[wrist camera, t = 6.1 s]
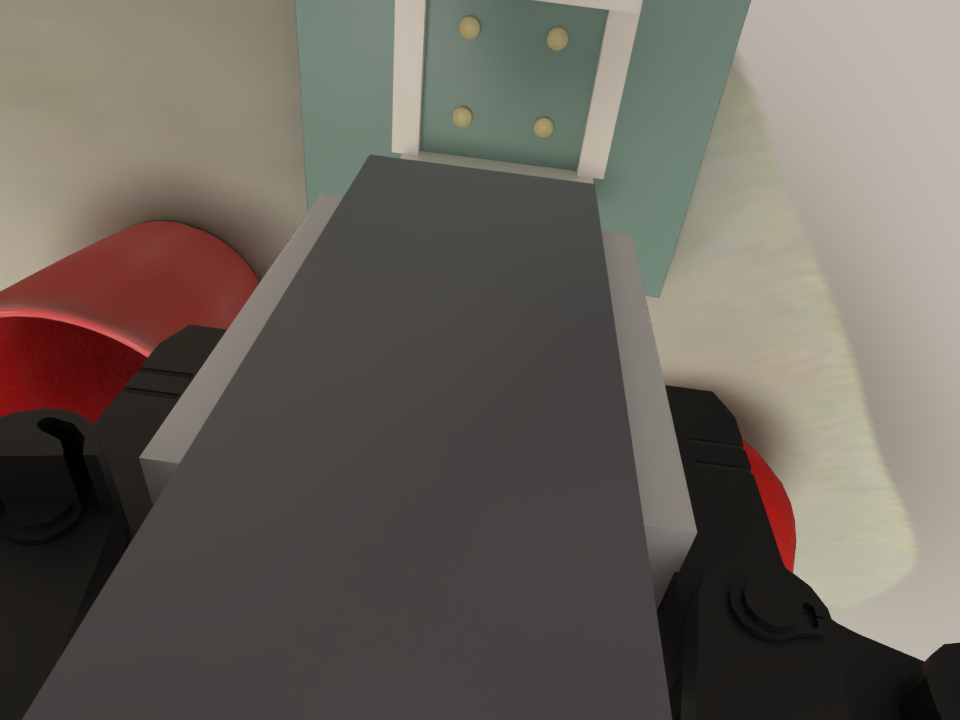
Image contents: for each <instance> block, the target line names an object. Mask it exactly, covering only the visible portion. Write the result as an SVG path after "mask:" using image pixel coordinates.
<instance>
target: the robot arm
mask: <svg viewBox="0 0 960 720" xmlns="http://www.w3.org/2000/svg"><path fill="white" fill-rule="evenodd" d="M342 198H343V196H335V195H328V194H321V195H320V196H319V198H318V199H317V200H316V202H315V203H314V205H313V206H312V208H311V209H310V211H309V212H308V213H307V215H306V216H305V218H304V219H303V221H302V222H301V224H300V225H299V227H298V228H297V229H296V231H295V232H294V234H293V235H292V237H291V238H290V240H289V241H288V242H287V244H286V245H285V247H284V248H283V250H282V251H281V253H280V254H279V256H278V257H277V258H276V260H275V261H274V263H273V264H272V266H271V267H270V269H269V270H268V271H267V273H266V274H265V276H264V277H263V279H262V280H261V282H260V283H259V285H258V286H257V287H256V289H255V290H254V292H253V293H252V295H251V296H250V298H249V299H248V300H247V302H246V303H245V305H244V306H243V308H242V309H241V311H240V312H239V314H238V315H237V316H236V318H235V319H234V321H233V322H232V324H231V325H230V327H229V328H228V329H220V328H213V327H205V326H197V325H189V326H187V327H185V328H184V329H182V330H180V331H179V332H177V333H175V334H174V335H172V336H170V337H169V338H167V339H165V340H164V341H162V342H160V343H159V344H158V346H157V347H156V348H155V349H154V350H153V352H152V353H151V354H150V355H149V357H148V358H147V359H146V360H145V362H144V363H143V364H142V365H141V366H140V371H139V372H136V373H135V374H134V375H133V376H132V378H131V379H130V380H129V381H128V382H127V384H126V385H125V386H124V391H123V392H119V394H118V395H117V396H116V397H115V398H114V400H113V401H112V402H111V403H110V405H109V406H108V407H107V408H106V410H105V411H104V412H103V413H102V414H101V416H100V417H99V418H98V419H97V421H96V422H95V423H94V424H93V423H92V422H91V421H90V420H88V419H86V418H84V417H82V416H80V415H78V414H77V413H75V412H72V411H64V410H57V409H49V408H45V409H37V410H28V411H19V412H15V413H12V414H9V415H6V416H3V417H0V720H22V719H23V717H24V715H25V714H26V712H27V711H28V709H29V707H30V706H31V704H32V702H33V701H34V699H35V698H36V696H37V694H38V693H39V691H40V689H41V688H42V686H43V684H44V683H45V681H46V680H47V678H48V676H49V675H50V673H51V671H52V670H53V668H54V667H55V665H56V663H57V662H58V660H59V658H60V657H61V655H62V654H63V652H64V650H65V649H66V647H67V645H68V644H69V642H70V641H71V639H72V637H73V636H74V634H75V632H76V631H77V629H78V628H79V626H80V624H81V623H82V621H83V619H84V618H85V616H86V615H87V613H88V611H89V610H90V608H91V606H92V605H93V603H94V602H95V600H96V598H97V597H98V595H99V593H100V592H101V590H102V589H103V587H104V585H105V584H106V582H107V580H108V579H109V577H110V576H111V574H112V572H113V571H114V569H115V567H116V566H117V564H118V563H119V561H120V559H121V558H122V556H123V554H124V553H125V551H126V550H127V548H128V546H129V545H130V543H131V541H132V540H133V538H134V537H135V535H136V533H137V532H138V530H139V528H140V527H141V525H142V524H143V522H144V520H145V519H146V517H147V515H148V514H149V512H150V511H151V509H152V507H153V506H154V504H155V502H156V501H157V499H158V498H159V496H160V494H161V493H162V491H163V489H164V488H165V486H166V485H167V483H168V481H169V480H170V478H171V476H172V475H173V473H174V472H175V470H176V468H177V467H178V465H179V463H180V462H181V460H182V459H183V457H184V455H185V454H186V452H187V450H188V449H189V447H190V446H191V444H192V442H193V441H194V439H195V437H196V436H197V434H198V433H199V431H200V429H201V428H202V426H203V424H204V423H205V421H206V420H207V418H208V416H209V415H210V413H211V411H212V410H213V408H214V407H215V405H216V403H217V402H218V400H219V398H220V397H221V395H222V393H223V392H224V390H225V389H226V387H227V385H228V384H229V382H230V380H231V379H232V377H233V376H234V374H235V372H236V371H237V369H238V367H239V366H240V364H241V363H242V361H243V359H244V358H245V356H246V354H247V353H248V351H249V350H250V348H251V346H252V345H253V343H254V341H255V340H256V338H257V337H258V335H259V333H260V332H261V330H262V328H263V327H264V325H265V324H266V322H267V320H268V319H269V317H270V315H271V314H272V312H273V311H274V309H275V307H276V306H277V304H278V302H279V301H280V299H281V298H282V296H283V294H284V293H285V291H286V289H287V288H288V286H289V285H290V283H291V281H292V280H293V278H294V276H295V275H296V273H297V272H298V270H299V268H300V267H301V265H302V263H303V262H304V260H305V259H306V257H307V255H308V254H309V252H310V250H311V249H312V247H313V246H314V244H315V242H316V241H317V239H318V237H319V236H320V234H321V233H322V231H323V229H324V228H325V226H326V224H327V223H328V221H329V220H330V218H331V216H332V215H333V213H334V211H335V210H336V208H337V207H338V205H339V203H340V202H341V200H342ZM602 238H603V245H604V252H605V259H606V266H607V273H608V279H609V286H610V293H611V300H612V307H613V314H614V321H615V328H616V335H617V342H618V348H619V355H620V362H621V369H622V376H623V383H624V390H625V397H626V404H627V411H628V418H629V424H630V431H631V438H632V445H633V452H634V459H635V466H636V473H637V480H638V487H639V494H640V500H641V507H642V514H643V521H644V528H645V535H646V542H647V549H648V556H649V563H650V570H651V576H652V583H653V590H654V597H655V604H656V611H657V618H658V625H659V632H660V639H661V646H662V652H663V659H664V666H665V673H666V680H667V687H668V694H669V701H670V708H671V715H672V720H960V643H952V644H944V645H943V646H942V647H940V648H939V649H938V650H937V651H936V652H934V653H933V654H932V655H931V656H930V657H929V658H928V659H927V660H926V661H925V662H924V661H922V660H919V659H917V658H915V657H912V656H910V655H907V654H905V653H903V652H900V651H897V650H895V649H893V648H890V647H888V646H885V645H883V644H881V643H878V642H876V641H874V640H871V639H869V638H867V637H864V636H862V635H859V634H857V633H855V632H853V631H851V630H849V629H847V628H845V627H844V626H842V625H840V624H838V623H836V622H835V621H833V620H832V619H831V616H830V614H829V611H828V608H827V607H826V606H825V605H824V603H823V602H822V601H821V599H820V598H819V597H818V596H817V594H816V593H815V592H814V590H813V589H812V588H811V587H810V586H809V585H808V584H806V583H805V582H804V581H802V580H801V579H800V578H799V577H797V576H796V575H795V574H793V573H792V572H791V571H789V570H788V569H786V567H785V565H784V563H783V560H782V557H781V554H780V551H779V548H778V545H777V542H776V539H775V536H774V533H773V530H772V527H771V524H770V521H769V518H768V515H767V512H766V509H765V506H764V503H763V501H762V498H761V495H760V492H759V489H758V486H757V483H756V480H755V477H754V474H751V469H752V468H751V465H750V462H749V459H748V456H747V453H746V450H743V446H744V444H743V441H742V438H741V435H740V432H739V429H738V426H737V423H736V420H735V417H734V416H733V415H732V414H731V412H730V411H729V410H728V409H727V408H726V407H725V405H724V404H723V403H722V402H721V401H720V400H719V399H718V397H717V396H716V395H715V394H714V393H713V392H711V391H704V390H696V389H689V388H681V387H674V386H666V385H665V384H664V379H663V375H662V370H661V366H660V361H659V357H658V352H657V348H656V343H655V339H654V334H653V329H652V325H651V320H650V316H649V311H648V307H647V302H646V298H645V293H644V289H643V284H642V280H641V275H640V270H639V266H638V261H637V257H636V252H635V248H634V243H633V239H632V235H631V234H623V233H616V232H608V231H602Z"/></svg>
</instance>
